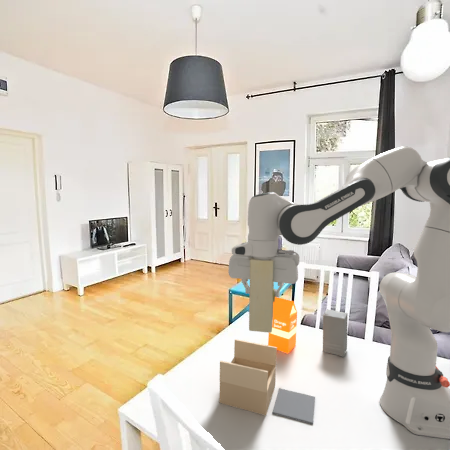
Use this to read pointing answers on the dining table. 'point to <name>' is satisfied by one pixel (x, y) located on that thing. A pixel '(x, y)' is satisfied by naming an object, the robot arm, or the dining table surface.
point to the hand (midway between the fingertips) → (262, 294)
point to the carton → (249, 377)
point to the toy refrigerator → (261, 295)
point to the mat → (294, 405)
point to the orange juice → (283, 325)
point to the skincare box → (335, 332)
